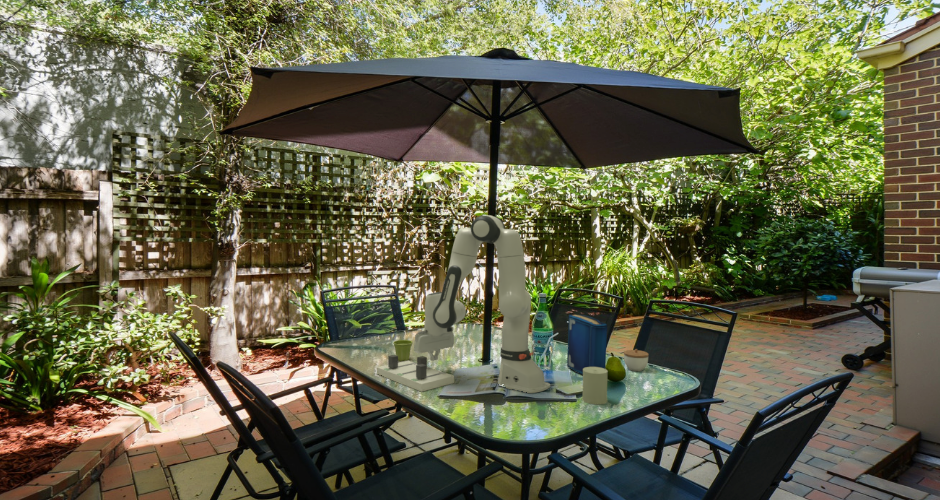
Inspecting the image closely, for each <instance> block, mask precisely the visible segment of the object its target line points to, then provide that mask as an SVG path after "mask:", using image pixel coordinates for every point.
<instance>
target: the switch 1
mask: <svg viewBox="0 0 940 500" xmlns="http://www.w3.org/2000/svg"><path fill="white" fill-rule="evenodd" d="M387 359H388V362H387V363H388V364H387V365H388V367H389V368H392V369H393V368H398V363H399V361H398V356H396V354H391V355H388V358H387Z"/></svg>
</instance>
